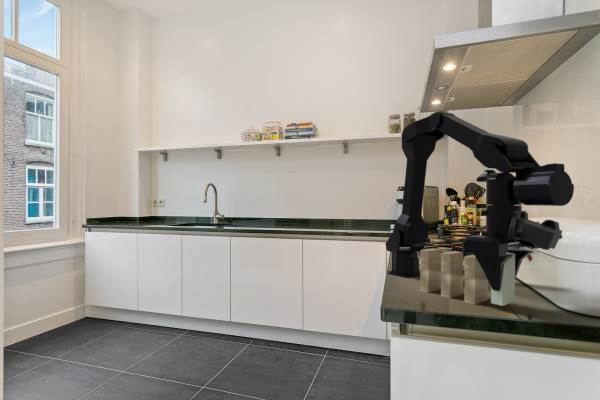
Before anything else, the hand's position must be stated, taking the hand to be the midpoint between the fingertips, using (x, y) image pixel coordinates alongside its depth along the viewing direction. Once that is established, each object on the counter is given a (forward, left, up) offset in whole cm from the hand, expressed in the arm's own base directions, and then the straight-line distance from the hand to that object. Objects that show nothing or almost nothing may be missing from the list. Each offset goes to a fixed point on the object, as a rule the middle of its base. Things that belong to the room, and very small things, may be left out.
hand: (503, 288), depth 62 cm
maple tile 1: (-15, 0, -4) cm, 15 cm away
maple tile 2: (-10, 0, -4) cm, 11 cm away
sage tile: (0, 0, -2) cm, 2 cm away
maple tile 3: (-5, 0, -4) cm, 6 cm away
